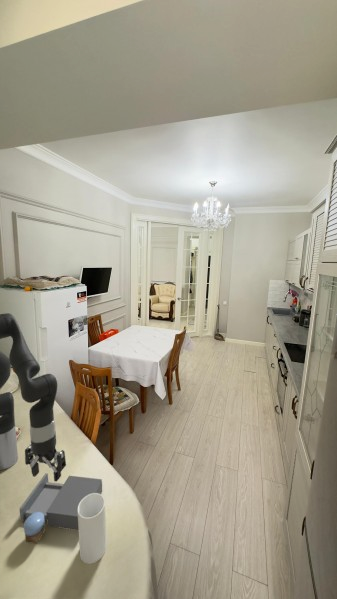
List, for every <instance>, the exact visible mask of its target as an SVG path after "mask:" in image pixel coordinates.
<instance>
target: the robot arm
mask: <svg viewBox="0 0 337 599" xmlns="http://www.w3.org/2000/svg"><path fill="white" fill-rule="evenodd" d="M9 337H10V338H12V344H11V348H10V351H9V356H7V355H6V354H5V353H3V352H2V351H1V350H0V390H1V389H2V388H3V387H4V386H5V384H6V383H7V382H8V380H9V379H10V376H11V371H12V370H11V368H12V369H13V371H14V373H15V374H16V376H17V379H18V383H19V388H20V395H21V398H22V400H23V401H25V402H26V403H29V404H32V403H35V402H36V403H35V404H33V405H32V406H31V407H30V408H29V413H28V414H29V436H30V444H29V446H27V447H26V448H25V449H24V461H25V465H27V466H28V465H29V467H30V468H31V469H30V470H31V475H32V477H37V476H38V474H39V473H40V468H39V467H40V465H39V463H40V464H45V465H47V467H48V468H49V469H50V468H51V469H52V471H53V481H54V482H55V483H58V481H59V480H60V478H61V477H62V472H63V470H64V468H65V467H66V466H67V463H66V454H65V450H64V449H61V450H60V451H58V450H57V449H56V446H57V435H56V434H57V433H56V422H55V416H54V414H55V412H54V405H55V400H56V396H57V392H58V380H57V378H56V377H55V375H54V374H52V373H46V374H42V375H40V376H37V375H38V374H39V372H40V371H41V366H40V364H39V363H38V361H37V359H36V358H35V357H34V355H33V353H32V352H31V350H30V349H29V348H30V347H29V346H28V344H27V342H26V340H25V336H24V335H23V333H22V331H21V328H20V326H19V323H18V321H17V319H16V318H15V316H13V314H11V313H7V312H6V313H5V312H4V313H1V314H0V340H1V339H6V338H9ZM36 376H37V377H36ZM16 429H17V428H16V422H15V399H14V395H13V394H12V392H10V391H7V392H3V393H0V471H3V470H7V469H9V468H11V467H13V465H15V464H16V463H17V462H18V459H19V454H18V443H17V442H18V441H17V430H16Z"/></svg>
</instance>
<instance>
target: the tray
mask: <svg viewBox="0 0 337 599" xmlns="http://www.w3.org/2000/svg"><path fill="white" fill-rule="evenodd" d="M63 485H64V483H60V482H59V483H58V482H52V481H51V482H49V473H44V474H43V476H42V477H41V479H40V480H39V482H38V483H37V485H36V486H35V487H34V488H33V490H32V491H31V493H30V494H29V495H28V496H27V497H26V499H25V500H24V501H23V503H22V504H21V506H20V507H19V519H20V522H24V521H26V519H27V518H28V517H29V516H30V515H32V514H34V513H36V512H41V513H43V514H44V519H45V520H47V514H46V512H47V510H48V509H49V507H50V505H51V504H52V502H53V501H54V499H55V497H56V496H57V494H58V493H59V491H60V489H61V488H62V486H63Z"/></svg>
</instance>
